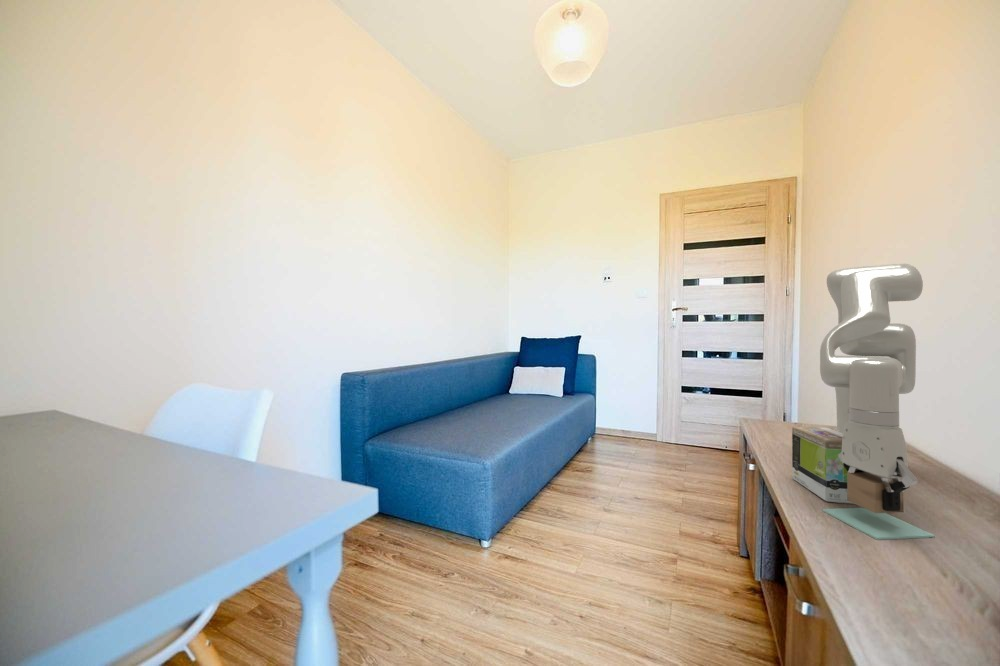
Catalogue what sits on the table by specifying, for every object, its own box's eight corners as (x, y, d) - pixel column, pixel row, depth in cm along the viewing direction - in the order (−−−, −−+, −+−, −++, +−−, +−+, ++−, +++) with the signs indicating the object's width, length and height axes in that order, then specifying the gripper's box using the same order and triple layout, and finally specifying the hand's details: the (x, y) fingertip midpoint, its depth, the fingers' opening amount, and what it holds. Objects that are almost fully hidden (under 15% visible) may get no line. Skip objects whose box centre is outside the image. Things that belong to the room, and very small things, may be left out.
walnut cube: (873, 499, 84) (873, 472, 84) (903, 512, 78) (903, 482, 78) (847, 500, 84) (847, 472, 84) (875, 513, 78) (875, 483, 78)
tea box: (874, 506, 89) (874, 442, 89) (825, 502, 91) (824, 440, 91) (832, 481, 104) (832, 426, 104) (790, 478, 106) (790, 425, 106)
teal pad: (872, 509, 87) (872, 507, 87) (934, 537, 75) (934, 535, 75) (822, 510, 87) (822, 509, 87) (876, 539, 75) (876, 537, 75)
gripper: (820, 410, 89) (821, 487, 89) (901, 428, 72) (902, 523, 72) (851, 409, 90) (852, 486, 90) (939, 427, 72) (939, 522, 72)
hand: (874, 502), depth 81 cm, fingers closed on walnut cube, 6 cm apart
